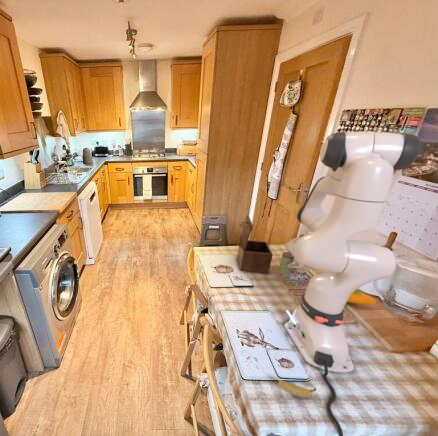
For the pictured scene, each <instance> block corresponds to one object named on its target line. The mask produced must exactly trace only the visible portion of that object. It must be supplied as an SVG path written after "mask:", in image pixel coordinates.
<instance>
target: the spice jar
mask: <svg viewBox="0 0 438 436" xmlns="http://www.w3.org/2000/svg"><path fill="white" fill-rule="evenodd" d="M294 261H295V260H294V256H293V255H292V254H291V253H290V252H287V251H284V252H282V255H281V259H280V263H279V267H278V273H280V274H281V275H284V276H289V275H291V272H292V268H293V267H291V268H288V267H287V265H286V264H288V263H289V262H290V263H293V262H294Z"/></svg>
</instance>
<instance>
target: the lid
mask: <svg viewBox="0 0 438 436" xmlns="http://www.w3.org/2000/svg"><path fill="white" fill-rule="evenodd" d="M238 225H239V227H240V228H242V229H241V233H240V236H239V243H240V242H241V246H242V249H243V251H245V248H246V245H247V242H248V240H249V239H250V236H251V233H252V231H253V227H254V225H253V222H252V220H251V218H250V215H249V214H247V215H246V216H245V219H244V220H243V219H238Z"/></svg>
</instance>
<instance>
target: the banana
mask: <svg viewBox="0 0 438 436" xmlns="http://www.w3.org/2000/svg"><path fill="white" fill-rule="evenodd" d="M276 383H277V385H278V386H279V387H280V388H281V389H282V390H283V391H285V392H286V393H289V394H291V395H294V396H296V397H301V398H309V397H311V395H313V393H314V392H316V391H317V388H316V386H314V388H313V389H307V388H303V387H300V386H297V385H294V384H292V383H289V382H288V381H285V380H282V379H277V382H276Z"/></svg>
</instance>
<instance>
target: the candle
mask: <svg viewBox="0 0 438 436" xmlns="http://www.w3.org/2000/svg"><path fill="white" fill-rule="evenodd" d="M309 233H311V232H310V231H309V230H308V229H307V228H306V227H305V225H303V224H302V223H301V222H300V227H299V231H298V234H297V237H298V236H299V235H300V234H304V235H307V234H309ZM294 261H295V258H294Z"/></svg>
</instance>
